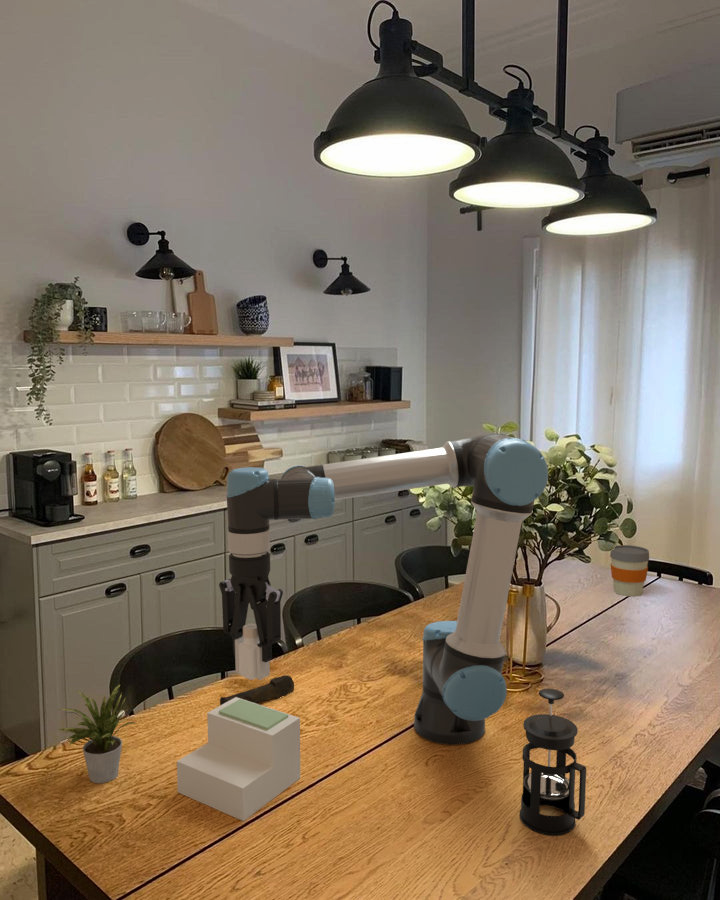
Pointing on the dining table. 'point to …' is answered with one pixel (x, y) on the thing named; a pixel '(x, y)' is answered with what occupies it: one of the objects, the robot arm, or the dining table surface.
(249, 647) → the white square bottle
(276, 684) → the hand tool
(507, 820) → the dining table surface
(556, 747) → the french press
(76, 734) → the house plant
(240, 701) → the stepped riser
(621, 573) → the reusable coffee cup
